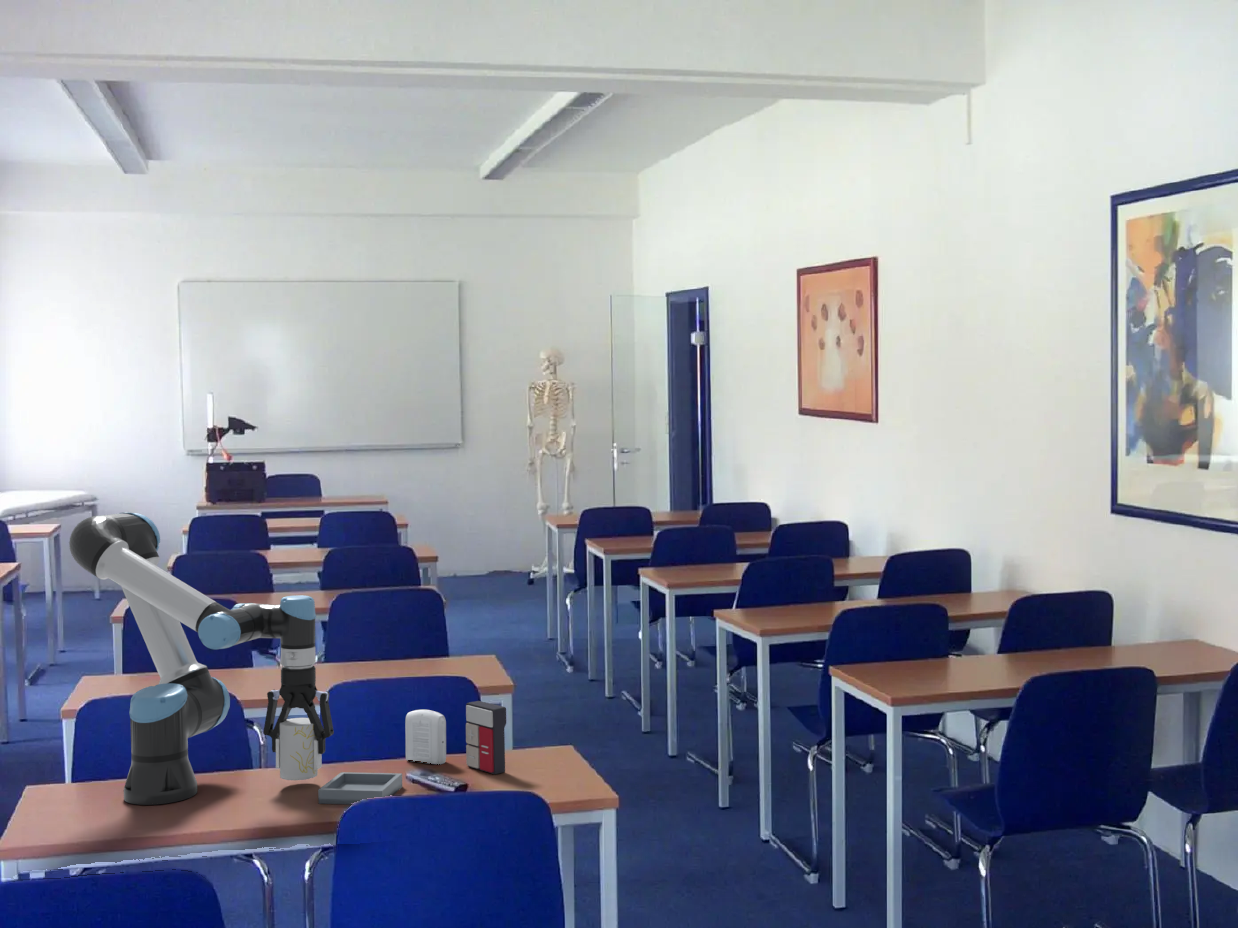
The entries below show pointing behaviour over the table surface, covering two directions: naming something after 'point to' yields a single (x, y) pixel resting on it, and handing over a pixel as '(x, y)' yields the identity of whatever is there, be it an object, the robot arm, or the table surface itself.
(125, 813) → the table surface
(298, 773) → the cup
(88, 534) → the robot arm
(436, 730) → the white rounded block
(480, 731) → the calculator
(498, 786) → the table surface
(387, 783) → the tray
